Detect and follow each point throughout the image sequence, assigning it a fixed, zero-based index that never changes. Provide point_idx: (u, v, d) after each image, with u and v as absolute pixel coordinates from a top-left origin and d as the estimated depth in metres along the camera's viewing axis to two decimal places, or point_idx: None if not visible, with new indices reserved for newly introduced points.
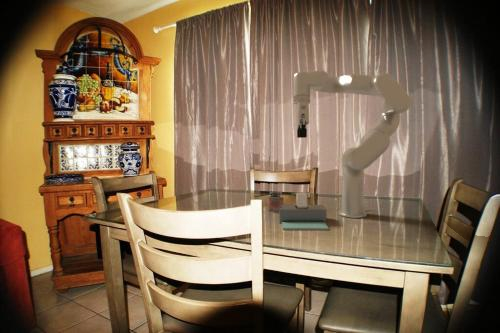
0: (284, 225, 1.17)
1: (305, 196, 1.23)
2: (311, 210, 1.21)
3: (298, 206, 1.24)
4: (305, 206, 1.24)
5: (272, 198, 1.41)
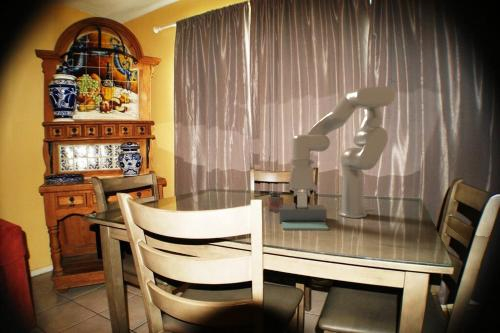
0: (284, 225, 1.17)
1: (305, 196, 1.23)
2: (311, 210, 1.21)
3: (298, 206, 1.24)
4: (305, 206, 1.24)
5: (272, 198, 1.41)
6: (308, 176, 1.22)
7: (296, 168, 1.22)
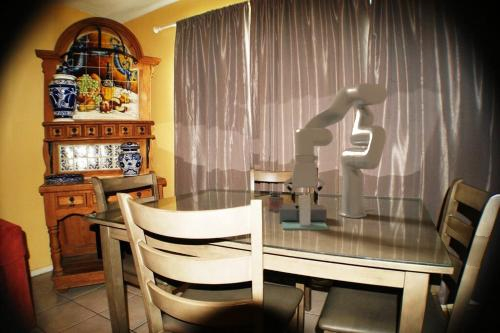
0: (284, 225, 1.17)
1: (308, 199, 1.14)
2: (311, 210, 1.21)
3: (301, 210, 1.15)
4: (308, 210, 1.14)
5: (272, 198, 1.41)
6: (311, 173, 1.13)
7: (298, 164, 1.13)
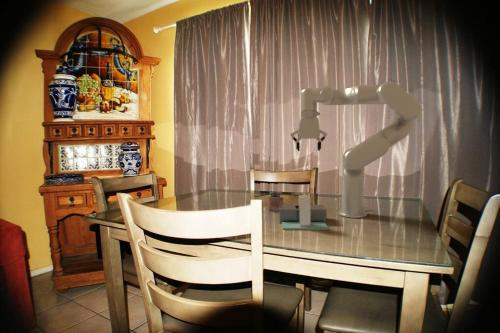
0: (284, 225, 1.17)
1: (308, 199, 1.14)
2: (311, 210, 1.21)
3: (301, 210, 1.15)
4: (308, 210, 1.14)
5: (272, 198, 1.41)
6: (315, 126, 1.34)
7: (304, 119, 1.34)
